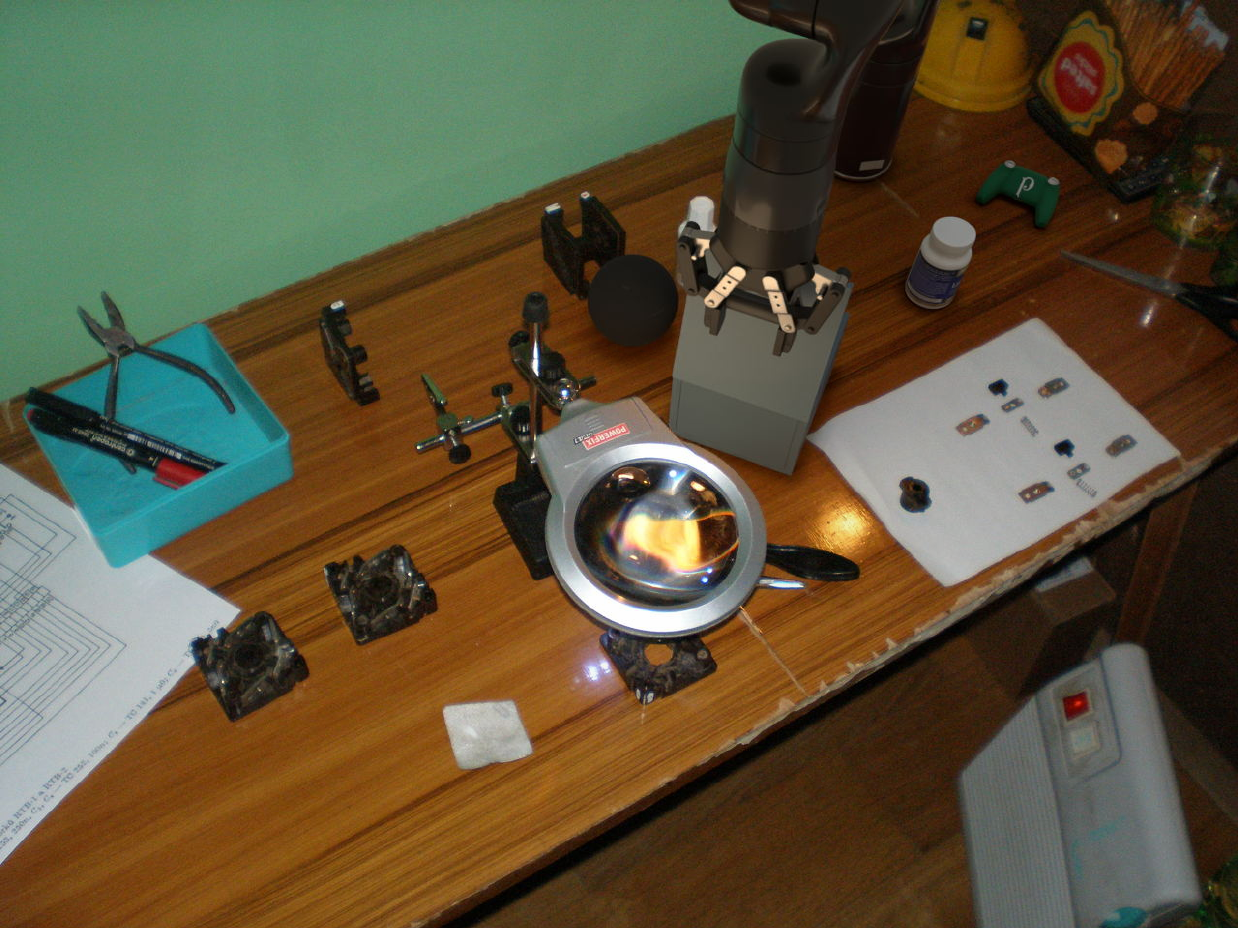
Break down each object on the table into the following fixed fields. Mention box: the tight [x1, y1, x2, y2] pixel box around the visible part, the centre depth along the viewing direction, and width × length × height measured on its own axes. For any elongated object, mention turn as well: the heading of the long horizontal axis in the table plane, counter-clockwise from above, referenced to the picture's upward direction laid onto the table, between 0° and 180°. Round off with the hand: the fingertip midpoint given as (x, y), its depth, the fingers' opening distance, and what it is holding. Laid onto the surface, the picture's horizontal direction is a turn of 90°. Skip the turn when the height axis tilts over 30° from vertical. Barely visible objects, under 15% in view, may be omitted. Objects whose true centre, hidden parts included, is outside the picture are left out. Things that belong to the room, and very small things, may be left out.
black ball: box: [586, 253, 680, 348], centre depth 108 cm, size 10×10×10 cm
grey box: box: [668, 311, 851, 477], centre depth 103 cm, size 15×14×10 cm
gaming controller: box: [975, 160, 1061, 229], centre depth 122 cm, size 9×4×6 cm
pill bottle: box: [904, 216, 977, 310], centre depth 111 cm, size 6×6×10 cm
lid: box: [671, 248, 855, 423], centre depth 87 cm, size 16×14×5 cm
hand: (747, 337), depth 84 cm, fingers closed on lid, 5 cm apart
